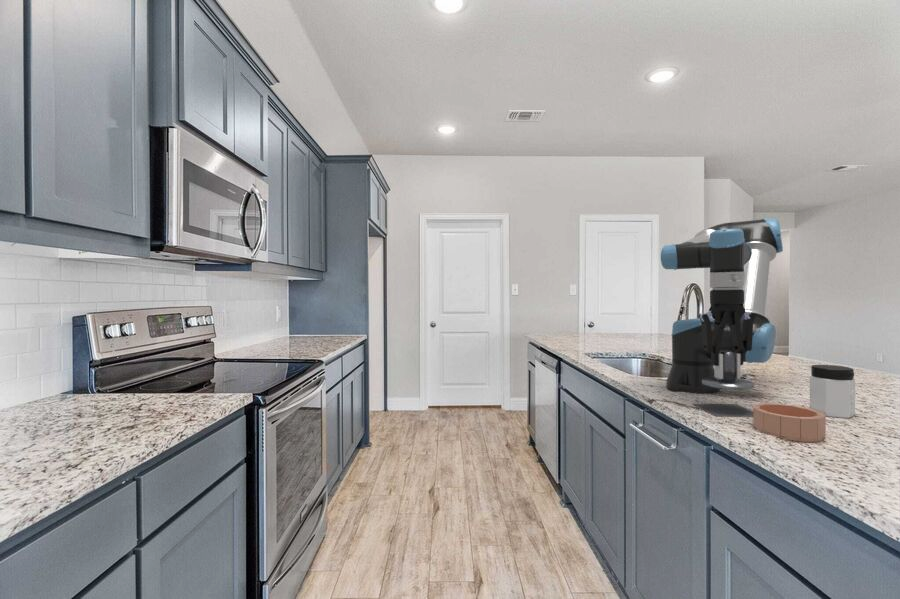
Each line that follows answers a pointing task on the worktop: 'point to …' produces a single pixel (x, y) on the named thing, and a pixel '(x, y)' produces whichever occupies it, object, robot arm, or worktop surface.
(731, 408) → the mat
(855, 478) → the worktop surface
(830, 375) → the jar
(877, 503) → the worktop surface
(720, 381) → the lid
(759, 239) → the robot arm
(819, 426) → the bowl
